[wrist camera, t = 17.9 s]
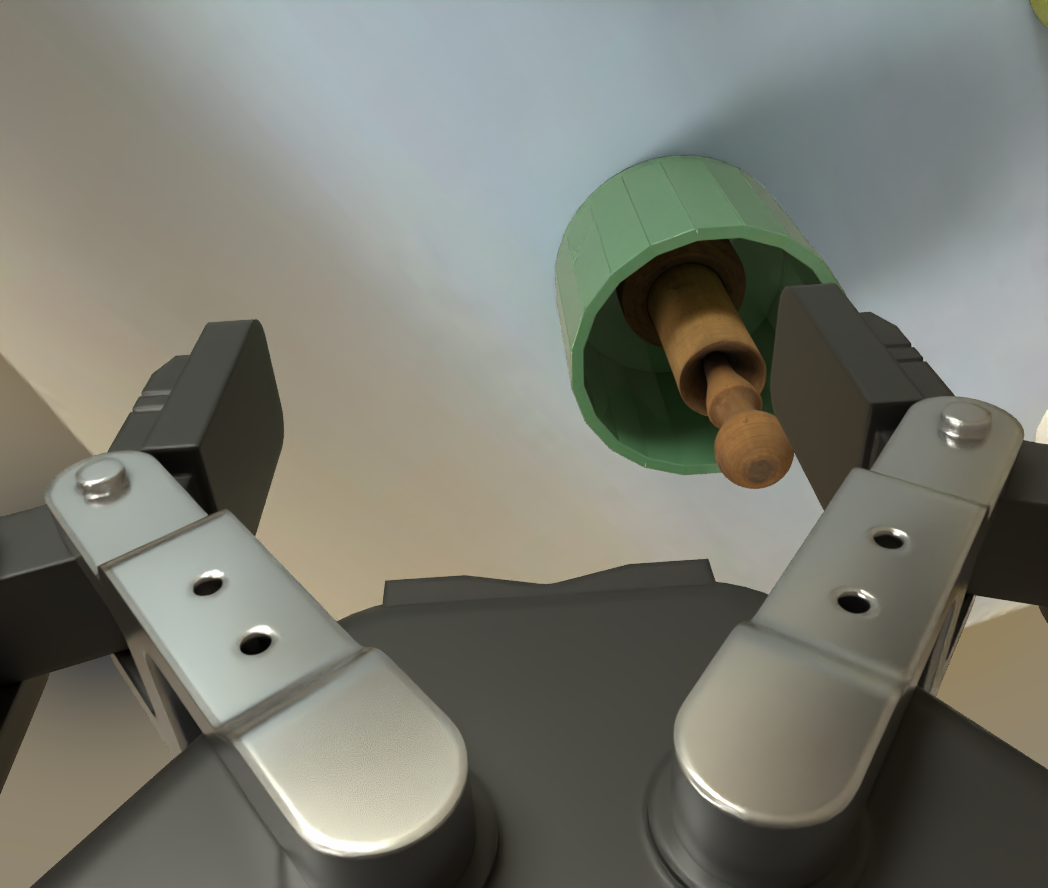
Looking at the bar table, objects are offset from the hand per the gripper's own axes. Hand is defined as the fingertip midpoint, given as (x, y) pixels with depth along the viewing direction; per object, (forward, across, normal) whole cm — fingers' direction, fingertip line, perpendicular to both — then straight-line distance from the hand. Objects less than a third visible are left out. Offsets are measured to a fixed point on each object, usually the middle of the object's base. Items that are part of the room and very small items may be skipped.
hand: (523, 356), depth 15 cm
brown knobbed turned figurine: (+34, -9, +14) cm, 37 cm away
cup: (+34, -9, +14) cm, 38 cm away
